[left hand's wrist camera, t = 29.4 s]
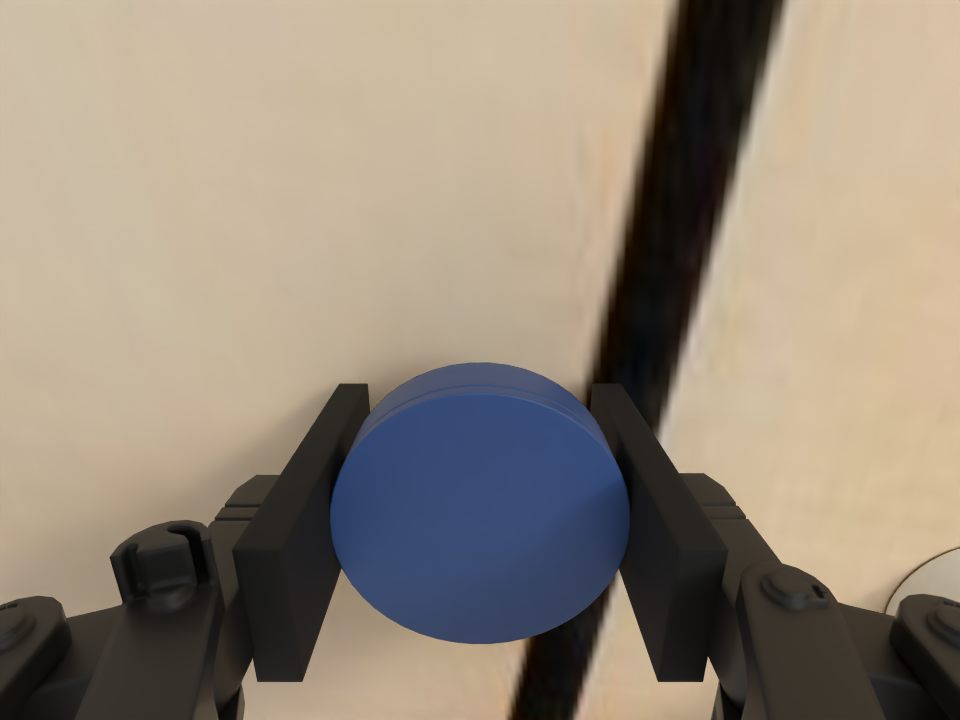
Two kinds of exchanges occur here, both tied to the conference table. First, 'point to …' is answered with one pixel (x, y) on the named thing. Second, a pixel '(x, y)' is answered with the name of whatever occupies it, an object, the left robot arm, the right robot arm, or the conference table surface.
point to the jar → (931, 580)
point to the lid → (480, 505)
